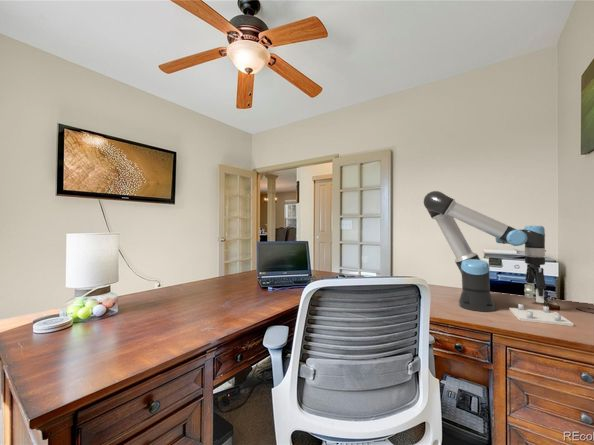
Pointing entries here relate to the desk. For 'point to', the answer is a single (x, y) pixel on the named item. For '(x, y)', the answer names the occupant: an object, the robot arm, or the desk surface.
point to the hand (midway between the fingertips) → (535, 299)
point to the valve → (533, 292)
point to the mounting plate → (539, 315)
